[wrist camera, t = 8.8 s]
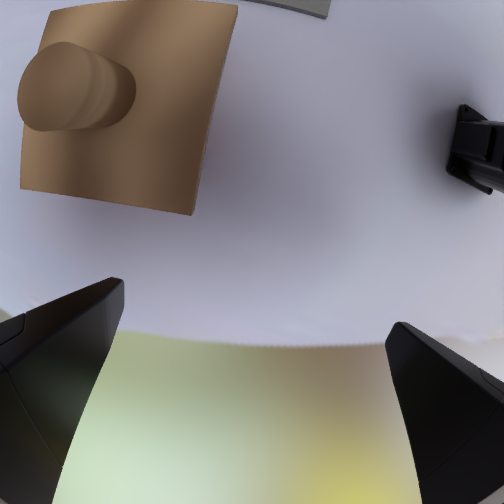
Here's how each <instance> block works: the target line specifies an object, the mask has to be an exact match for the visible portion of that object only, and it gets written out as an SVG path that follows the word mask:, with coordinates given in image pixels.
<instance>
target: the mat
mask: <svg viewBox="0 0 504 504" xmlns="http://www.w3.org/2000/svg"><path fill="white" fill-rule="evenodd" d="M247 1H253V2H258V3H263V4H268V5H273V6H278V7H282V8H286V9H290V10H294V11H298V12H302V13H305V14H309V15H312V16H316V17H319V18H322V19H326V18H327V16H328V11H329V6H330V2H331V0H247Z"/></svg>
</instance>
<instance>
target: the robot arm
mask: <svg viewBox="0 0 504 504" xmlns="http://www.w3.org/2000/svg"><path fill="white" fill-rule="evenodd" d="M464 108H465V111H464ZM452 167H453V171H451V170H452ZM447 173H448V174H449V175H451V176H453V177H455V178H457V179H459V180H461V181H463V182H465V183H467V184H469V185H471V186H473V187H475V188H477V189H479V190H480V191H482V192H484V193H486V194H488V195H490V194H492V192H493V189H495V190H498V191H500V192H503V193H504V122H497V121H489V120H488V119H486V118H485V117H483V116H482V115H481V114H479V113H478V112H476V111H475V110H474V109H472V108H471V107H469V106H468V105H466V104H462V105H460V107H459V113H458V119H457V124H456V129H455V134H454V139H453V144H452V148H451V152H450V157H449V161H448V165H447ZM488 189H489V190H488ZM123 309H124V281H123V280H122V279H119V278H114V277H110V278H107V279H105V280H102V281H100V282H97V283H95V284H92V285H90V286H87V287H85V288H82V289H80V290H77V291H75V292H73V293H70V294H68V295H65V296H63V297H60V298H58V299H56V300H53V301H51V302H48V303H46V304H44V305H41V306H39V307H37V308H34V309H32V310H30V311H27V312H26V314H25V313H22V314H20V315H18V316H16V317H13V318H11V319H8V320H6V321H4V322H1V323H0V504H52V501H53V498H54V494H55V491H56V488H57V484H58V481H59V477H60V474H61V472H62V469H63V468H62V466H63V465H64V462H65V459H66V456H67V453H68V450H69V448H70V445H71V442H72V439H73V436H74V434H75V431H76V428H77V426H78V423H79V421H80V418H81V416H82V413H83V411H84V408H85V406H86V403H87V401H88V398H89V396H90V394H91V391H92V389H93V386H94V384H95V382H96V380H97V377H98V375H99V373H100V370H101V368H102V366H103V364H104V362H105V359H106V357H107V355H108V352H109V350H110V348H111V345H112V342H113V339H114V336H115V333H116V330H117V327H118V324H119V321H120V318H121V315H122V312H123ZM385 348H386V352H387V357H388V361H389V366H390V371H391V376H392V380H393V384H394V387H395V390H396V394H397V397H398V401H399V404H400V408H401V411H402V415H403V418H404V422H405V426H406V430H407V434H408V438H409V442H410V446H411V450H412V454H413V458H414V463H415V468H416V472H417V477H418V481H419V488H420V494H421V498H422V504H504V382H502V381H500V380H499V379H497V378H495V377H494V376H492V375H490V374H489V373H487V372H486V371H484V370H482V369H481V368H478V367H477V366H476V365H474V364H473V363H471V362H470V361H468V360H466V359H465V358H463V357H462V356H460V355H458V354H457V353H455V352H454V351H452V350H451V349H449V348H447V347H446V346H444V345H443V344H441V343H439V342H438V341H436V340H435V339H433V338H431V337H430V336H428V335H426V334H425V333H423V332H422V331H420V330H418V329H417V328H415V327H413V326H412V325H410V324H409V323H407V322H396V323H395V324H394V326H393V328H392V330H391V331H390V333H389V335H388V337H387V339H386V342H385Z"/></svg>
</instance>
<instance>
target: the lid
mask: <svg viewBox="0 0 504 504" xmlns="http://www.w3.org/2000/svg"><path fill="white" fill-rule="evenodd" d="M237 15H238V5H231V4H224V3H215V2H205V1H192V0H126V1H113V2H103V3H94V4H87V5H81V6H75V7H69V8H64V9H59V10H54V11H51V12H50V15H49V17H48V20H47V23H46V26H45V29H44V32H43V36H42V39H41V42H40V46H39V49H38V53H37V55H36V56H35V57H34V58H33V59H32V60H31V61H30V63H29V64H28V66H27V67H26V69H25V71H24V73H23V75H22V78H21V81H20V84H19V88H18V96H17V102H18V110H19V113H20V116H21V118H22V120H23V121H24V128H23V138H22V150H21V169H20V189H25V190H32V191H40V192H47V193H54V194H60V195H67V196H74V197H81V198H87V199H94V200H100V201H106V202H113V203H119V204H125V205H131V206H137V207H143V208H149V209H155V210H161V211H166V212H172V213H178V214H184V215H189V216H191V215H192V213H193V211H194V210H195V204H196V198H197V192H198V186H199V180H200V175H201V169H202V164H203V158H204V153H205V148H206V143H207V138H208V133H209V128H210V124H211V119H212V114H213V110H214V105H215V101H216V96H217V92H218V88H219V83H220V79H221V75H222V71H223V67H224V63H225V59H226V55H227V51H228V47H229V44H230V40H231V36H232V33H233V29H234V25H235V22H236V18H237Z"/></svg>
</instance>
